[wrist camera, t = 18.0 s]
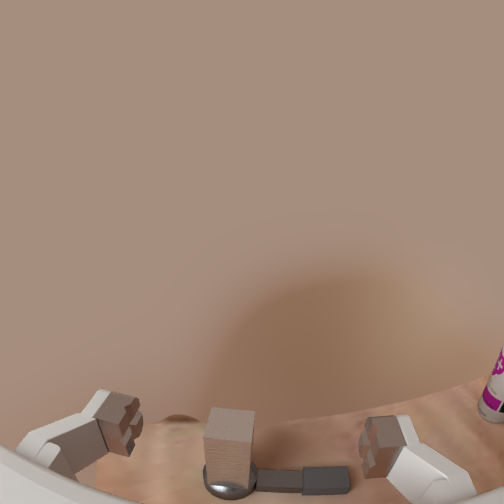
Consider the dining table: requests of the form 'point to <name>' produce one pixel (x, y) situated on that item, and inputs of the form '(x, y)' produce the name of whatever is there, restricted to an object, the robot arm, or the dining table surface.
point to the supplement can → (494, 394)
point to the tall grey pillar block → (229, 447)
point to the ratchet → (288, 482)
